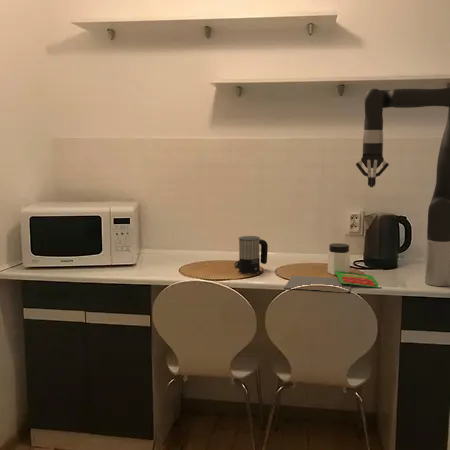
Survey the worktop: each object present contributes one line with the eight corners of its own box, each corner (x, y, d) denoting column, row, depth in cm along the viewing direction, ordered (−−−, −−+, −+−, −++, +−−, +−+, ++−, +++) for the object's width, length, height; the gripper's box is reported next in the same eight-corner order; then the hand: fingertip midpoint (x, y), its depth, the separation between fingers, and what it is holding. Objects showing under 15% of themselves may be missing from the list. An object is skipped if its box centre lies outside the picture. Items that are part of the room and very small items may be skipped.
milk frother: (251, 275, 241) (251, 240, 239) (221, 270, 251) (221, 236, 249) (270, 269, 253) (270, 235, 250) (241, 264, 262) (241, 232, 260)
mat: (352, 280, 232) (352, 279, 232) (349, 293, 213) (349, 291, 213) (292, 276, 238) (292, 275, 238) (284, 289, 219) (284, 287, 219)
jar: (328, 275, 241) (328, 246, 240) (327, 270, 249) (327, 243, 248) (350, 275, 240) (351, 247, 238) (348, 271, 248) (349, 243, 246)
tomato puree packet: (341, 281, 221) (334, 270, 240) (340, 284, 221) (334, 272, 241) (382, 286, 220) (372, 274, 240) (381, 289, 220) (371, 277, 240)
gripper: (390, 142, 227) (389, 186, 230) (355, 142, 231) (354, 186, 233) (390, 142, 220) (389, 188, 223) (354, 142, 224) (353, 187, 226)
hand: (371, 187), depth 228 cm, fingers closed
